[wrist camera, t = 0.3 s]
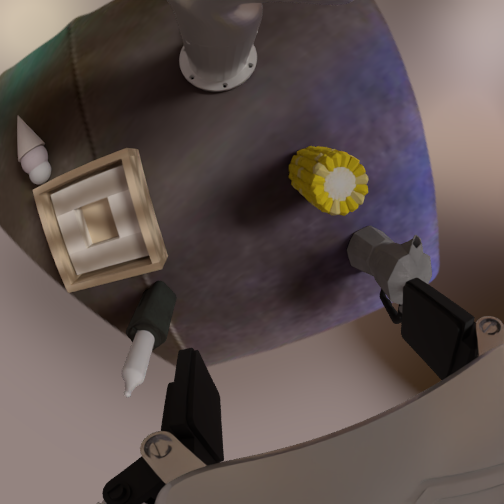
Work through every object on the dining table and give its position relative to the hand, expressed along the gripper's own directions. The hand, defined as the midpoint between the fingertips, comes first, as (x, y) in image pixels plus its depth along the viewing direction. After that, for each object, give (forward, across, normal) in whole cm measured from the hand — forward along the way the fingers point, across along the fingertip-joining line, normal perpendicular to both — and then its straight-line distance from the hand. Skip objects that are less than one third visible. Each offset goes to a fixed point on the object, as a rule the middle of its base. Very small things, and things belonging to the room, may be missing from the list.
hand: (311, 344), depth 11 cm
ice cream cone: (+37, +34, -23) cm, 55 cm away
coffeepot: (+37, -22, +15) cm, 45 cm away
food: (+37, -13, -3) cm, 39 cm away
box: (+36, +24, -5) cm, 44 cm away
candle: (+37, +18, +12) cm, 43 cm away
